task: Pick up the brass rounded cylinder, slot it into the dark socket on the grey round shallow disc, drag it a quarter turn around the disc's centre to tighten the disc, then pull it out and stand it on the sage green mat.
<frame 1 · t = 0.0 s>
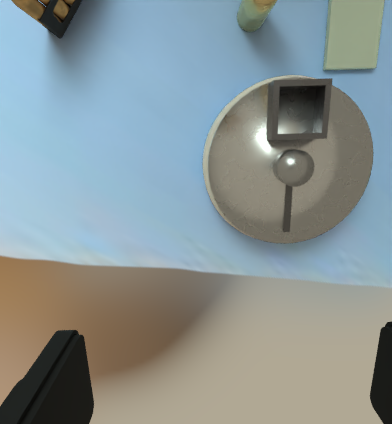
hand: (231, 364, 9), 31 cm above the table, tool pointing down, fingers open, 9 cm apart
brass rounded cylinder: (250, 16, 34), on the table
key mat: (351, 32, 34), on the table
chuck housing: (277, 162, 38), on the table
grey round shallow disc: (291, 166, 33), point 6 cm above the table, hinge at 0.0°
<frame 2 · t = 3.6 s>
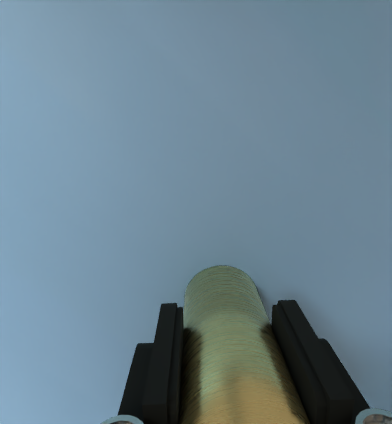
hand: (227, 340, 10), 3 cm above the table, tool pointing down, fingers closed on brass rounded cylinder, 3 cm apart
brass rounded cylinder: (221, 298, 13), on the table, touching gripper
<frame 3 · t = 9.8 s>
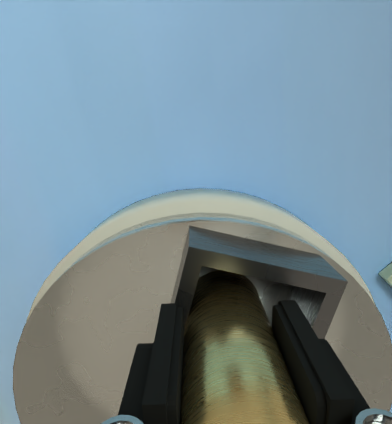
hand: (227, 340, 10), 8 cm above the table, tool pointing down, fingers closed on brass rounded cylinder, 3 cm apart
brass rounded cylinder: (222, 303, 13), point 6 cm above the table, touching grey round shallow disc, gripper
chuck housing: (202, 334, 20), on the table
grey round shallow disc: (205, 410, 14), point 6 cm above the table, hinge at 30.4°, touching brass rounded cylinder
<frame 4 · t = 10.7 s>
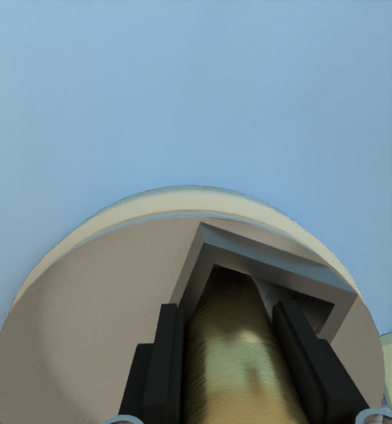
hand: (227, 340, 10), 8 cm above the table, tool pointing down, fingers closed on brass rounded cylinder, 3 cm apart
brass rounded cylinder: (223, 300, 13), point 5 cm above the table, touching grey round shallow disc, gripper
chuck housing: (190, 335, 19), on the table
grey round shallow disc: (191, 413, 14), point 6 cm above the table, hinge at 48.2°, touching brass rounded cylinder, gripper
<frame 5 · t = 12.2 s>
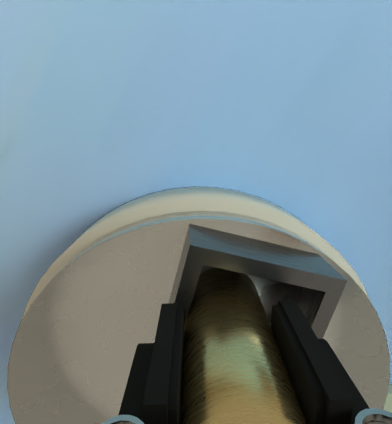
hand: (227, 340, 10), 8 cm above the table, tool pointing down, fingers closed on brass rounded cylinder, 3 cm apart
brass rounded cylinder: (221, 299, 13), point 5 cm above the table, touching grey round shallow disc, gripper
chuck housing: (198, 333, 19), on the table
grey round shallow disc: (202, 408, 14), point 6 cm above the table, hinge at 74.2°, touching brass rounded cylinder
when the fingers open (5 cm above the table, at t = 19.0 s): brass rounded cylinder stays where it is, resting on key mat.
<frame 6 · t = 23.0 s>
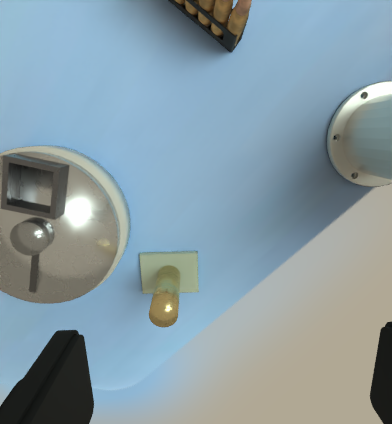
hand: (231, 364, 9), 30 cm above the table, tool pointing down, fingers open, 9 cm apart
brass rounded cylinder: (169, 275, 41), point 1 cm above the table, touching key mat
key mat: (170, 271, 42), on the table
chuck housing: (56, 220, 39), on the table
grey round shallow disc: (35, 234, 34), point 6 cm above the table, hinge at 76.0°
ammunition clip: (199, 15, 33), on the table
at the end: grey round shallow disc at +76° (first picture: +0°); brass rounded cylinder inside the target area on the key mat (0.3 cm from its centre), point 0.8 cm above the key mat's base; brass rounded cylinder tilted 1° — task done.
